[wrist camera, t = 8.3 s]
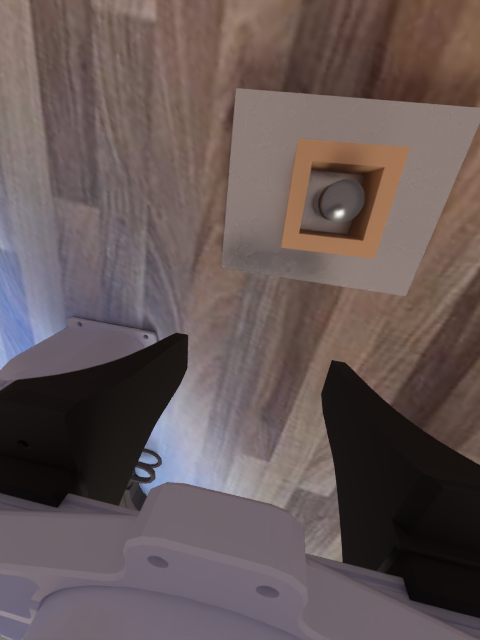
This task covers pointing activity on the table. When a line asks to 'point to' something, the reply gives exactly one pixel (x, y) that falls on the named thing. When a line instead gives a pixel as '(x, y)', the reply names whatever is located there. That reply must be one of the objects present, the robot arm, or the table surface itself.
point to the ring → (378, 185)
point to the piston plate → (348, 125)
